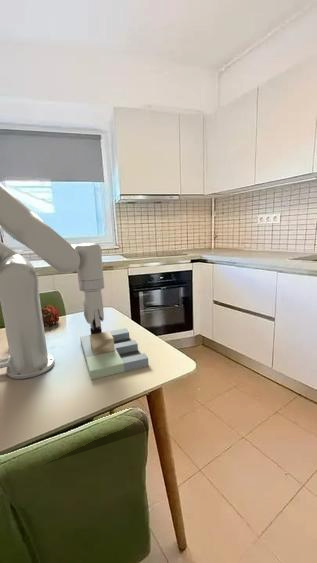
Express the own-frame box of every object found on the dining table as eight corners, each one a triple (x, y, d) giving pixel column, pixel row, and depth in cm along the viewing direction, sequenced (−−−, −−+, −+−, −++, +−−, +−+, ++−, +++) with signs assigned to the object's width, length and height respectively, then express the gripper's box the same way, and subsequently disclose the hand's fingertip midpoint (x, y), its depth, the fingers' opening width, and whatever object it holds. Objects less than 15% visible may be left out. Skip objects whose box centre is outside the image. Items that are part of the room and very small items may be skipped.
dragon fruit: (50, 333, 109) (47, 327, 119) (66, 317, 111) (62, 313, 122) (33, 318, 106) (32, 314, 116) (50, 302, 108) (48, 299, 119)
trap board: (90, 379, 72) (89, 371, 72) (81, 343, 94) (80, 336, 94) (148, 365, 78) (148, 357, 77) (126, 334, 100) (126, 328, 99)
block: (94, 355, 80) (93, 342, 79) (90, 346, 86) (89, 334, 85) (114, 350, 82) (113, 338, 82) (109, 342, 88) (108, 331, 87)
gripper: (76, 281, 90) (81, 333, 94) (82, 291, 76) (88, 352, 80) (99, 278, 92) (103, 329, 97) (109, 287, 79) (114, 346, 83)
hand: (96, 339), depth 88 cm, fingers closed
